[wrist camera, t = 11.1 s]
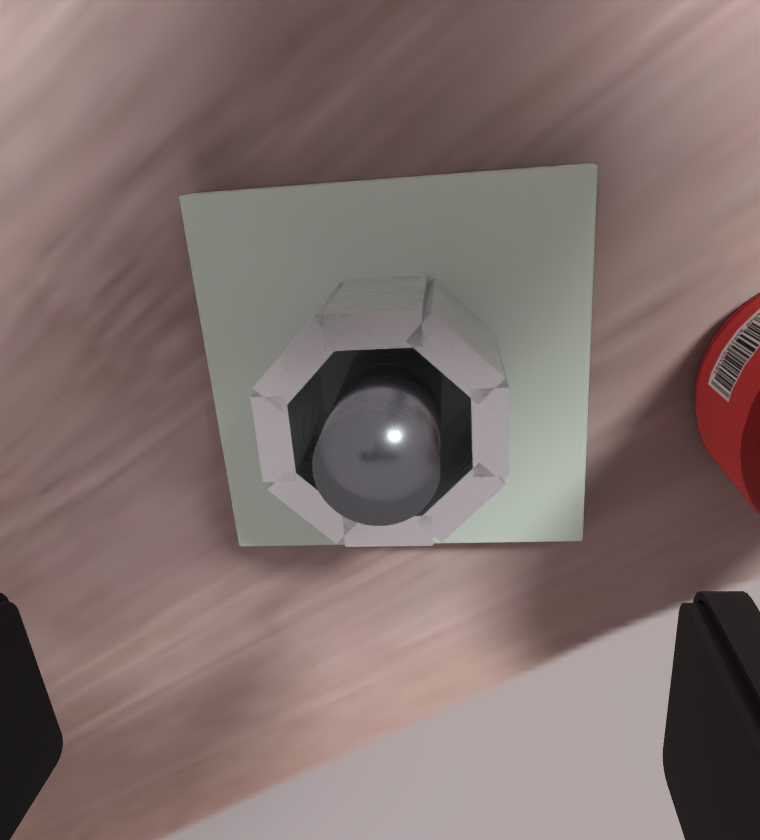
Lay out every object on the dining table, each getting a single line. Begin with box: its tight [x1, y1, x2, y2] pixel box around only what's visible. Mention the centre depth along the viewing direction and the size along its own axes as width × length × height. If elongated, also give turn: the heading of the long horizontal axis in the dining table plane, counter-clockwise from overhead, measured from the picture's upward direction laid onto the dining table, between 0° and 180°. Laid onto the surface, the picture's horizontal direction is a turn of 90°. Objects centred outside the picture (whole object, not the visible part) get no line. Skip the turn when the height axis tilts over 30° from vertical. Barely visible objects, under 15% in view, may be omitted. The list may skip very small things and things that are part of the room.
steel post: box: [312, 348, 442, 526], centre depth 20 cm, size 3×3×7 cm
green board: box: [179, 163, 598, 546], centre depth 24 cm, size 13×13×2 cm
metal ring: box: [250, 275, 509, 547], centre depth 21 cm, size 7×7×5 cm
